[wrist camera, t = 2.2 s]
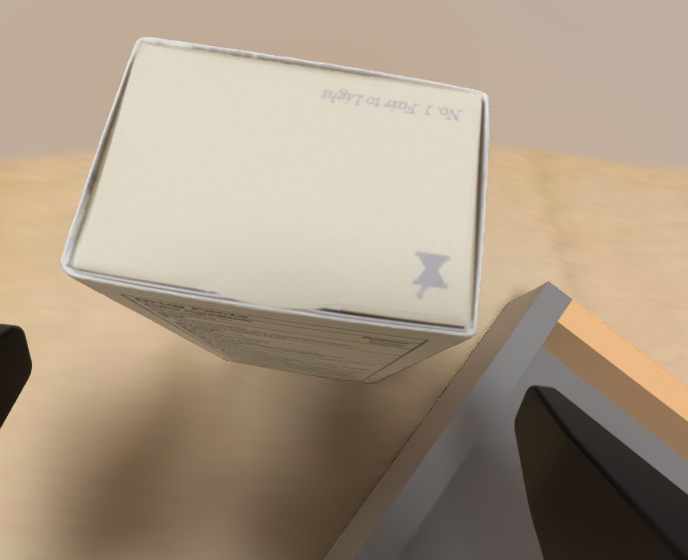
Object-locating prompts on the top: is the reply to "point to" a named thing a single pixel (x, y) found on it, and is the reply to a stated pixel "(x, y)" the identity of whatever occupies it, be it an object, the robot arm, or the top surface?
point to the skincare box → (288, 209)
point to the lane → (513, 436)
